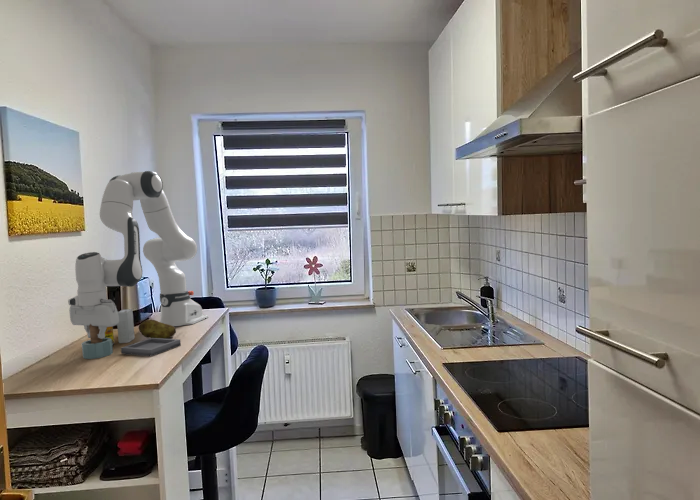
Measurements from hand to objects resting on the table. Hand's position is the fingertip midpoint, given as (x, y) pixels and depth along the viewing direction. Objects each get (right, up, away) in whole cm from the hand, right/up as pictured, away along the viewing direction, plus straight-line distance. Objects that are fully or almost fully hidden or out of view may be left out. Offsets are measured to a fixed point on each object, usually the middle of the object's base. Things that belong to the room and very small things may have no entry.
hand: (96, 338), depth 173 cm
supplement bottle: (-3, -6, +14) cm, 16 cm away
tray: (+18, -5, +3) cm, 19 cm away
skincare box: (+2, -5, +19) cm, 20 cm away
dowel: (0, -6, 0) cm, 6 cm away
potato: (+14, -4, +19) cm, 24 cm away
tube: (0, -6, 0) cm, 6 cm away
